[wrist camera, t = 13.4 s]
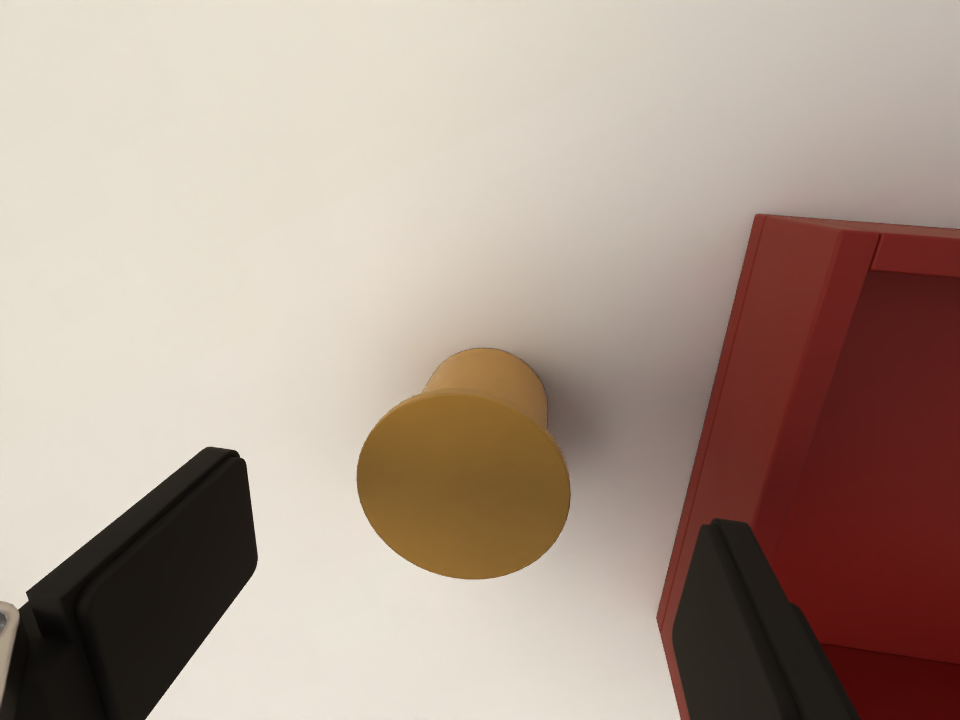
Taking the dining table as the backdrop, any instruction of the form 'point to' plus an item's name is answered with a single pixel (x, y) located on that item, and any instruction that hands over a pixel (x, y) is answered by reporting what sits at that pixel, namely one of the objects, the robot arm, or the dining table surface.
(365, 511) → the brass drawer pull
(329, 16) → the dining table surface
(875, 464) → the red open tray
